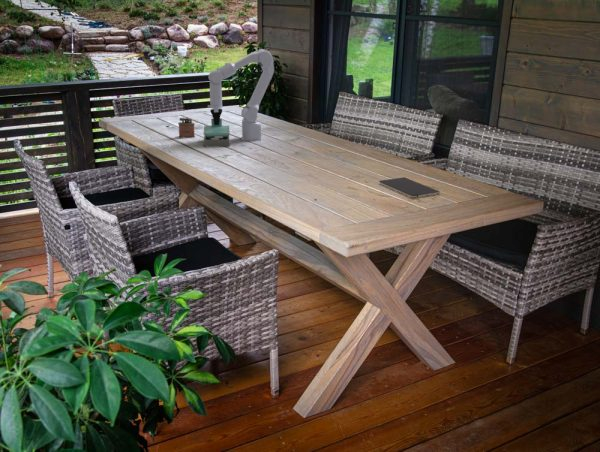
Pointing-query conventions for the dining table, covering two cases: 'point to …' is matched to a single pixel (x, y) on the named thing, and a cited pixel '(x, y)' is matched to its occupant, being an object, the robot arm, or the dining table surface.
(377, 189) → the dining table surface
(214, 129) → the lid
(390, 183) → the notebook
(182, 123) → the lighter
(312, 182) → the dining table surface
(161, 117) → the dining table surface
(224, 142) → the tub
